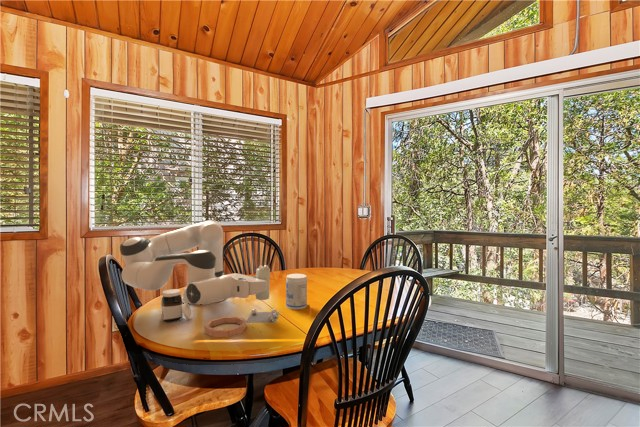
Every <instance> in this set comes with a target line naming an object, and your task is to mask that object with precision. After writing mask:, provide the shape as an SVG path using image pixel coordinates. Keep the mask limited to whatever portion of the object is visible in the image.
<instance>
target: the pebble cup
mask: <svg viewBox="0 0 640 427" xmlns="http://www.w3.org/2000/svg"><path fill="white" fill-rule="evenodd" d="M255 270H256V271H255V272H256V273H255V274H256V275H255V276H256V278H258V279H261V280H263V279H265V278H266V279H268V280H269V282H268V283H267V290H266V291H264V292H261V293H258V294H255V300H260V301H265V300H269V299H270V287H271V286H270V282H271V280H270V279H271V268H270V267H269V266H268V264H266V265H264V266H263V265H262V264H261V265H259V266H258V267H257V268H256V269H255Z"/></svg>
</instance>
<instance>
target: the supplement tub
mask: <svg viewBox="0 0 640 427" xmlns="http://www.w3.org/2000/svg"><path fill="white" fill-rule="evenodd" d="M307 297H308V277H307V275H306V274H303V273H290V274H287V275H286V279H285V307H286V308H287V309H290V310H302V309H306V308H307V307H308V304H307V303H308V301H307V300H308V298H307Z"/></svg>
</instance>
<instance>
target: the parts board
mask: <svg viewBox="0 0 640 427" xmlns="http://www.w3.org/2000/svg"><path fill="white" fill-rule="evenodd" d="M279 315H280V311H277V309H276V308H272V309H271V311H257V309H256V308H252V309H251V311H250V314H249V316H248V317H247V319H246V320H247V324H248V323H254V324H255V323H256V324H257V323H261V324H262V323H265V324H266V323H277V321H278V319H279Z"/></svg>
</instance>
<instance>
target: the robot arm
mask: <svg viewBox="0 0 640 427" xmlns="http://www.w3.org/2000/svg"><path fill="white" fill-rule="evenodd" d="M197 247H198V250H195V251H191V250H192V249H195V248H197ZM119 251H120V254H121V256H122V259H123V262H124V265H125V266H124V267H123V269H122V271H121V280H122V281H123V283H124V284H125V285H128V286H130V287H132V288H135V289H139V290H143V291H144V290H145V291H158V290H160V289H162V288H163V287H165V286H166V285H167V284H168V282H169V281H170V279H171V278H172V277H171V275H172V273H173V270H174V268H175V266H176V265H181V264H183V265H184V264H185V265H186V266H187V283H186V284H187V285H186V286H185V287H184V289H183V290H182V291H183V292H182V295H181V297H182V304H183V303H191V304H190V305H200V304H202V305H203V306H204V305H205V306H207V305H211V304H213V303H219V302H221V301H224V300H228V299H233V298H234V299H235V298H239V299H246V298H249V297H250V296H252V295H253V296H254V295H256V294H258V293H261V292H264V291H266V290H267V283H268V282H269V280H268V279H266V278H265V279H263V280H261V279H258V278H256V275H247V274H242V273H236V272H234V273H228V274H225V273H224V268H223V267H224V265H223V264H224V262H223V258H224V257H223V256H224V255H223V254H224V228H223V227H222V226H221V224H219V223H218V222H217V221H215V220H211V219H210V220H205V221H202V222H197V223H195V224H191V225H188V226H185V227H182V228H179V229H175V230H170V231H168V232H165V233H161V234H158V235H155V236H152V237H151V238H149V239H148V238H145V237H141V236H132V237H130V238H127V239H125V240H124V241H123V242H122V243H120V246H119ZM188 251H191V252H188Z"/></svg>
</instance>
